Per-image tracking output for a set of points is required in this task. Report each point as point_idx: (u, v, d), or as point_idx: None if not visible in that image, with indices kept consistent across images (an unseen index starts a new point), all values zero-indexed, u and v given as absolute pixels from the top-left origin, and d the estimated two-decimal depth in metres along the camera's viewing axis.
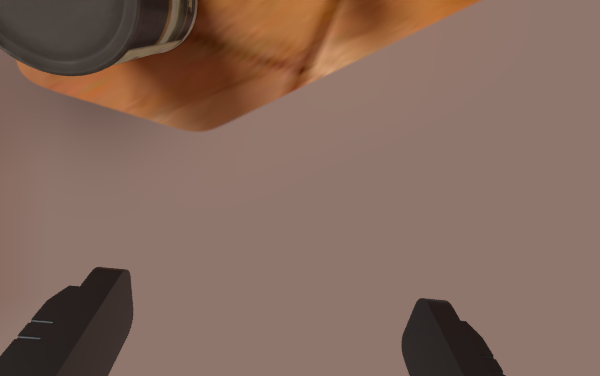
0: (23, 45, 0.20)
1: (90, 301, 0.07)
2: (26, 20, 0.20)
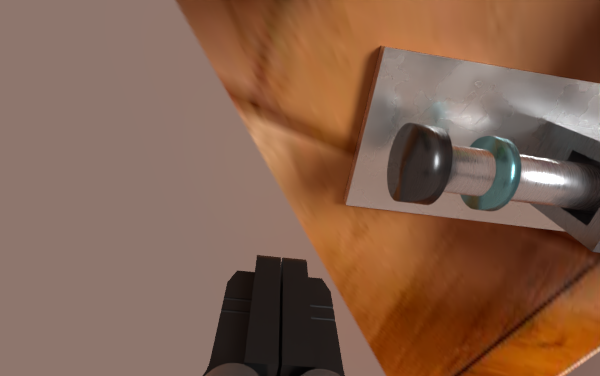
0: None
1: (270, 282, 0.09)
2: None
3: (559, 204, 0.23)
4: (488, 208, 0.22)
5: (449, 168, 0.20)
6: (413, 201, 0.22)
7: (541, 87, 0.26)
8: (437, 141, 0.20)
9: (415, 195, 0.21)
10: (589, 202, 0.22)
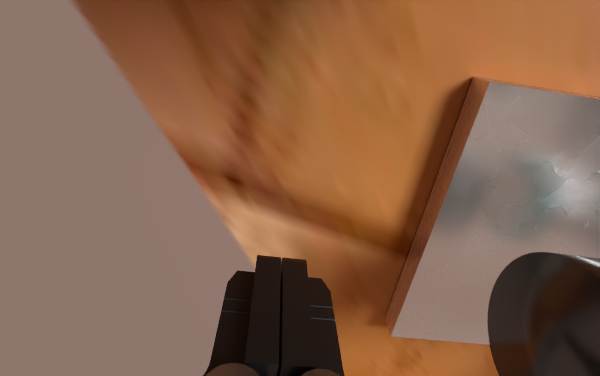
0: None
1: (270, 282, 0.09)
2: None
3: None
4: None
5: None
6: None
7: None
8: None
9: None
10: None
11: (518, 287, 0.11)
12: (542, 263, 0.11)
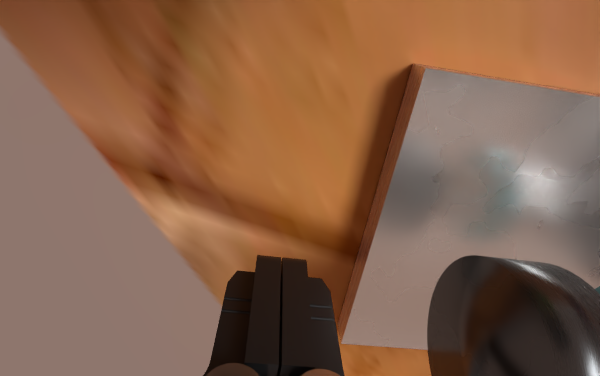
0: None
1: (270, 282, 0.09)
2: None
3: None
4: None
5: None
6: None
7: None
8: (599, 349, 0.07)
9: None
10: None
11: (454, 294, 0.10)
12: (475, 268, 0.10)
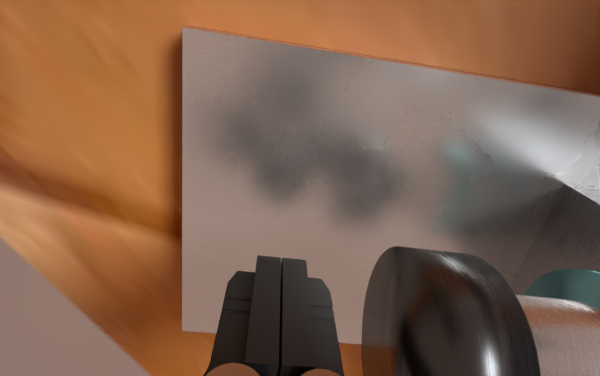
0: None
1: (270, 282, 0.09)
2: None
3: None
4: None
5: None
6: None
7: (551, 117, 0.12)
8: (495, 340, 0.07)
9: None
10: None
11: (381, 286, 0.10)
12: (396, 259, 0.09)
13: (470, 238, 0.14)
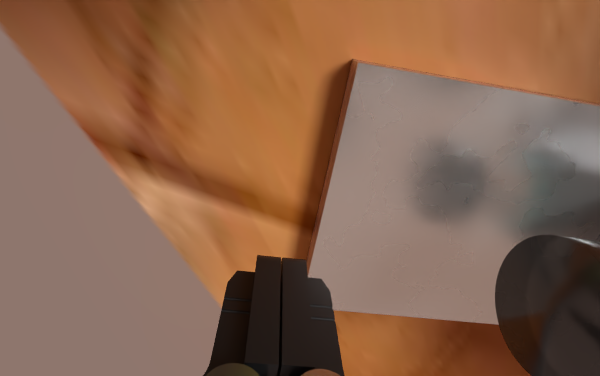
0: None
1: (270, 282, 0.09)
2: None
3: None
4: None
5: None
6: None
7: None
8: None
9: None
10: None
11: (523, 266, 0.13)
12: (545, 244, 0.12)
13: (550, 230, 0.17)
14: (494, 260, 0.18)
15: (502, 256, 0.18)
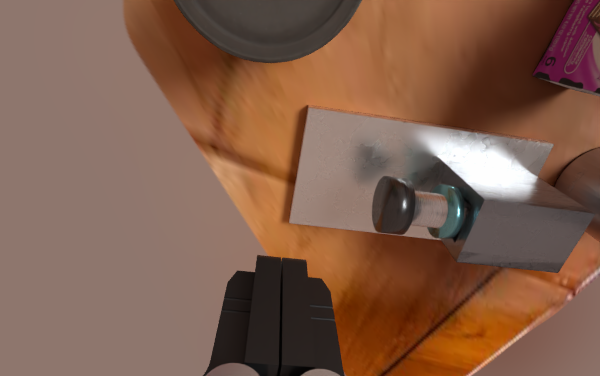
0: None
1: (270, 282, 0.09)
2: None
3: None
4: (443, 237, 0.31)
5: (413, 211, 0.28)
6: (389, 233, 0.30)
7: (431, 135, 0.34)
8: (405, 192, 0.29)
9: (390, 229, 0.29)
10: None
11: (378, 190, 0.32)
12: (383, 180, 0.31)
13: None
14: None
15: None
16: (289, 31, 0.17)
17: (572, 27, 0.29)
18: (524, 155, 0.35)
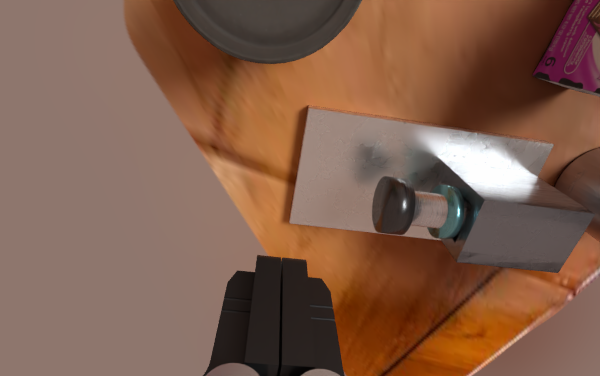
0: None
1: (270, 282, 0.09)
2: None
3: None
4: (443, 237, 0.31)
5: (413, 212, 0.29)
6: (389, 233, 0.30)
7: (431, 135, 0.34)
8: (405, 192, 0.29)
9: (390, 229, 0.29)
10: None
11: (378, 191, 0.32)
12: (383, 180, 0.31)
13: None
14: None
15: None
16: (289, 32, 0.17)
17: (572, 27, 0.29)
18: (524, 155, 0.35)
